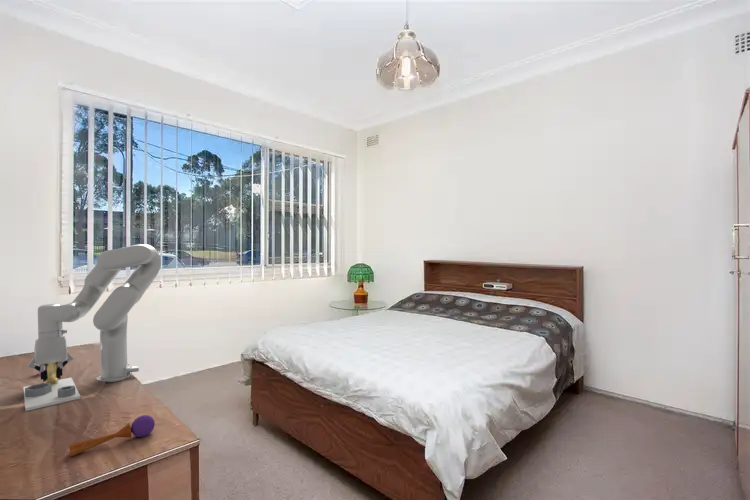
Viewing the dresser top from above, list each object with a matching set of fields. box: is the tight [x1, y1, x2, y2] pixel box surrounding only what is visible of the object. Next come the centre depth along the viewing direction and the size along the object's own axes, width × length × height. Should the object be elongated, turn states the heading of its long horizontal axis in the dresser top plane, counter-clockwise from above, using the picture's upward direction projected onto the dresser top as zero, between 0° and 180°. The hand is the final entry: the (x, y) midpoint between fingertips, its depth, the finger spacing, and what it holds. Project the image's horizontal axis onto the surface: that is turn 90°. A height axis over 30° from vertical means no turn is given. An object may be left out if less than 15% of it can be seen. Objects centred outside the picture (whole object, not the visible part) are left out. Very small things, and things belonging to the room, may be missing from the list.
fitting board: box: [23, 377, 81, 412], centre depth 146 cm, size 15×28×4 cm, turn 44°
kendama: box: [68, 414, 156, 458], centre depth 108 cm, size 6×6×20 cm
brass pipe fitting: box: [44, 362, 59, 385], centre depth 154 cm, size 4×4×9 cm
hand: (51, 378), depth 154 cm, fingers closed on brass pipe fitting, 4 cm apart
